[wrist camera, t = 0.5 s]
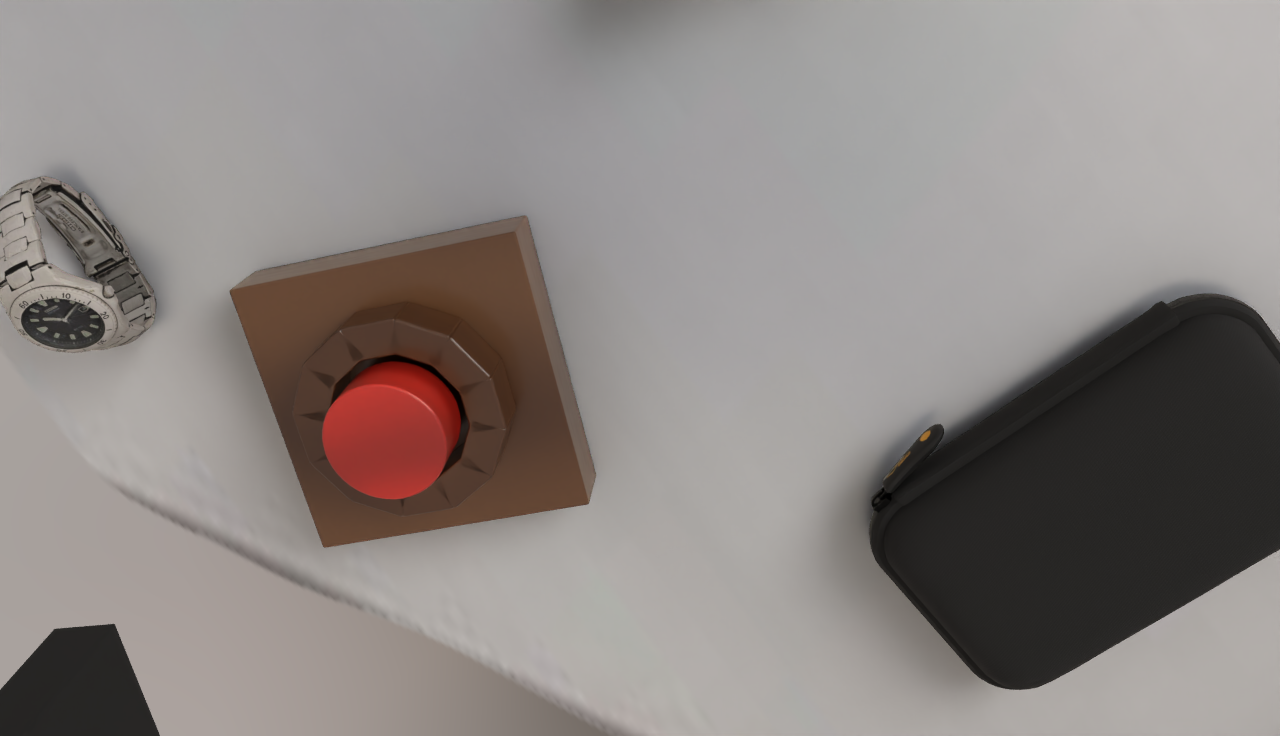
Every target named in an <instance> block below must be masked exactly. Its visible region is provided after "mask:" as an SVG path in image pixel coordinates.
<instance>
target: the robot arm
mask: <svg viewBox="0 0 1280 736" xmlns="http://www.w3.org/2000/svg"><path fill="white" fill-rule="evenodd" d="M0 736H160V735H159V732H158V730H157V727H156V725H155V722H154V720H153V718H152V715H151V713H150V710H149V708H148V705H147V703H146V700H145V698H144V695H143V693H142V691H141V688H140V686H139V683H138V681H137V678H136V676H135V673H134V671H133V669H132V666H131V664H130V661H129V658H128V656H127V654H126V651H125V649H124V646H123V644H122V641H121V639H120V637H119V634H118V631H117V629H116V626H115V624H108V625H97V626H84V627H72V628H61V629H54V630H53V632H52V633H51V634H50V635H49V636H48V637H47V638H46V639H45V640H44V641H43V643H42V644H41V645H40V646H39V647H38V648H37V649H36V651H34V653H33V654H32V655H31V656H30V657H29V658H28V659H27V660H26V662H25V663H24V664H23V665H22V666H21V667H20V668H19V669H18V671H17V672H16V673H15V674H14V675H13V676H12V677H11V678H10V680H9V681H8V682H7V683H6V684H5V685H4V686H3V687H2V688H1V690H0Z"/></svg>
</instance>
